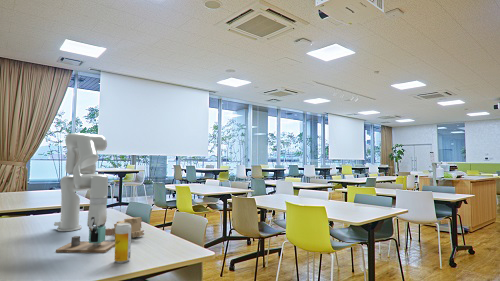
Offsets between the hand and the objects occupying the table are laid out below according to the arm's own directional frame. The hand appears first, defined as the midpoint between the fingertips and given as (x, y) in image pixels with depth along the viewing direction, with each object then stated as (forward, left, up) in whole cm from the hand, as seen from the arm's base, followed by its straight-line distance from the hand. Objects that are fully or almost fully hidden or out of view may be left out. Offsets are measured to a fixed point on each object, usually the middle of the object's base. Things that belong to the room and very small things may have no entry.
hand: (97, 239), depth 147 cm
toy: (+4, +21, -4) cm, 22 cm away
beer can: (+19, -18, -4) cm, 26 cm away
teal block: (0, 0, -1) cm, 1 cm away
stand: (-4, 0, -4) cm, 6 cm away
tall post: (0, 0, -3) cm, 3 cm away
